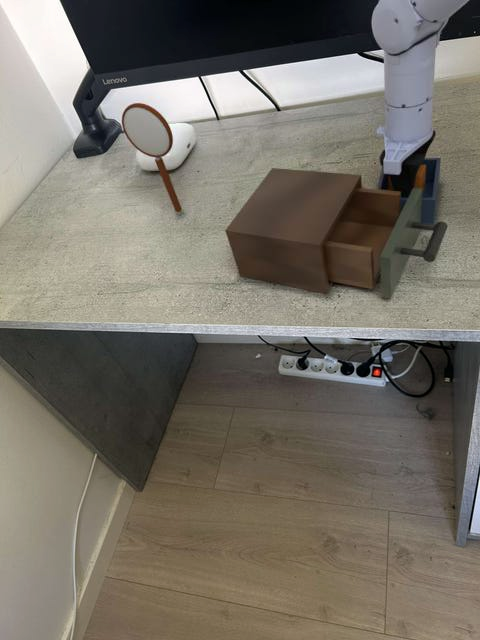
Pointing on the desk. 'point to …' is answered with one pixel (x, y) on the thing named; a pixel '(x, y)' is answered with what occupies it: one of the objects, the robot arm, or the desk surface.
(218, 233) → the desk surface
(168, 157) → the earbud case
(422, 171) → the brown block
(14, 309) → the desk surface
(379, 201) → the drawer
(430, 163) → the open box
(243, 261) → the cabinet
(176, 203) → the magnifying glass
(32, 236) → the desk surface
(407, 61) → the robot arm
